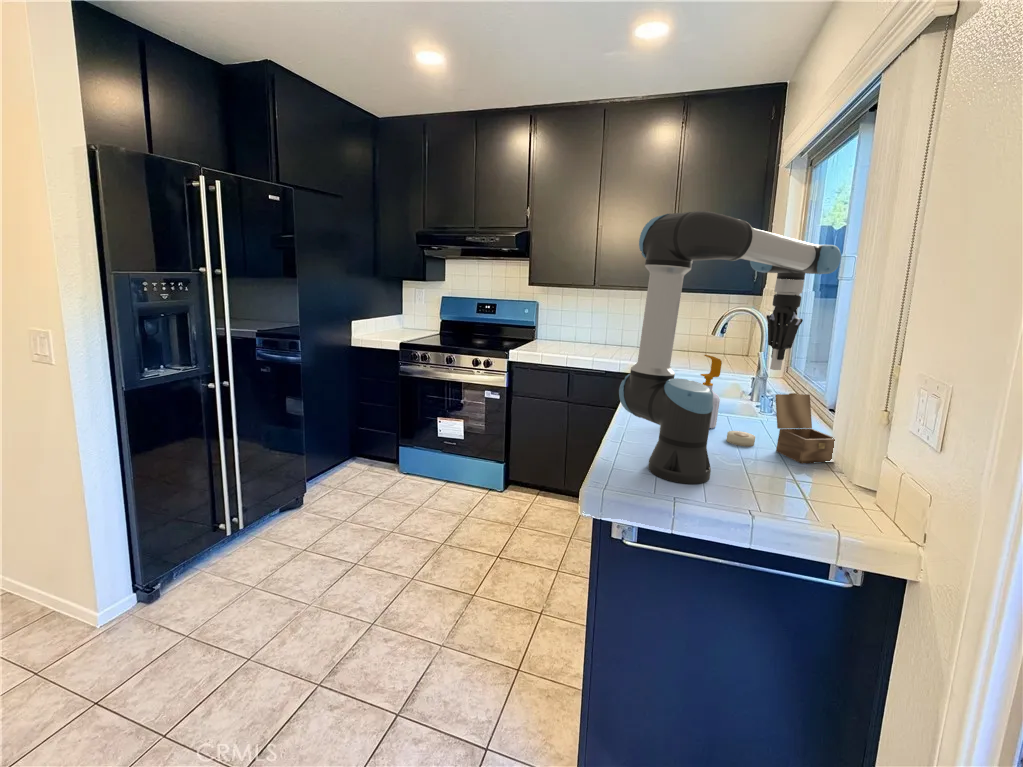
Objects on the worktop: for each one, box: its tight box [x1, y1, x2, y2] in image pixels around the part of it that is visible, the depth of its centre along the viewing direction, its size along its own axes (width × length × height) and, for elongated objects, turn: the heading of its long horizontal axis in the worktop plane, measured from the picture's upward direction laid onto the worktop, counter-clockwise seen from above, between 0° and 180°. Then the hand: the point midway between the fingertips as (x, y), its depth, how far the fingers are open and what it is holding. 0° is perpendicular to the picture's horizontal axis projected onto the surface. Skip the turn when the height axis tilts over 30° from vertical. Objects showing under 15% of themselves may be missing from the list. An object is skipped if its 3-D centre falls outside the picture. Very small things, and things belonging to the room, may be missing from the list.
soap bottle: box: [700, 354, 723, 429], centre depth 170 cm, size 9×9×25 cm
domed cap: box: [726, 430, 756, 448], centre depth 156 cm, size 8×8×3 cm
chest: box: [775, 428, 835, 464], centre depth 145 cm, size 11×10×7 cm
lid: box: [775, 392, 813, 430], centre depth 150 cm, size 11×10×1 cm
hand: (775, 369), depth 158 cm, fingers closed
